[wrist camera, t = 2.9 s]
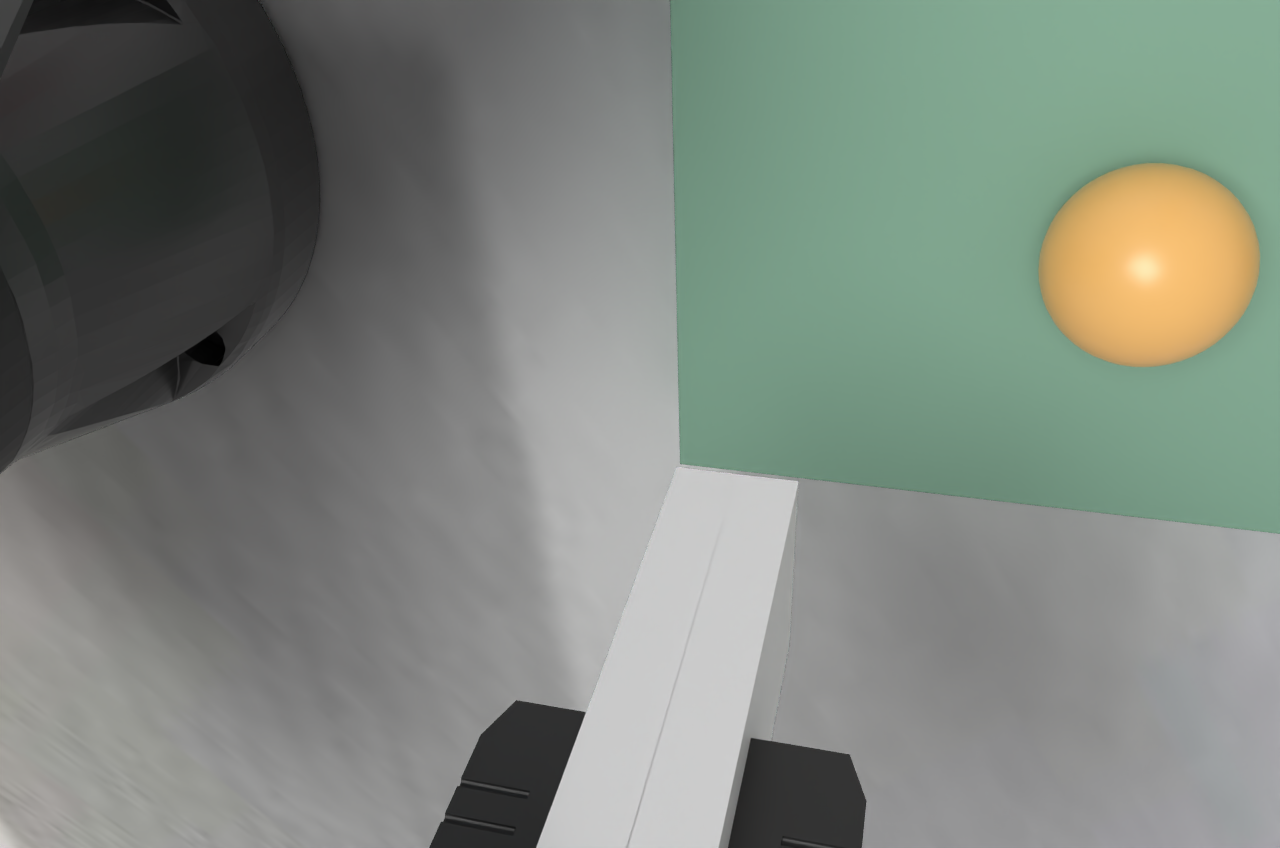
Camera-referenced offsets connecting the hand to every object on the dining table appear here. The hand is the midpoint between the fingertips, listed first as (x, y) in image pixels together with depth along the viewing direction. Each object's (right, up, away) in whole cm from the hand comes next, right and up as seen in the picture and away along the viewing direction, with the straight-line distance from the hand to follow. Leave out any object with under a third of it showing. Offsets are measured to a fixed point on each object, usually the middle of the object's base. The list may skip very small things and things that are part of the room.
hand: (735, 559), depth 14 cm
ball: (+8, +5, +6) cm, 11 cm away
